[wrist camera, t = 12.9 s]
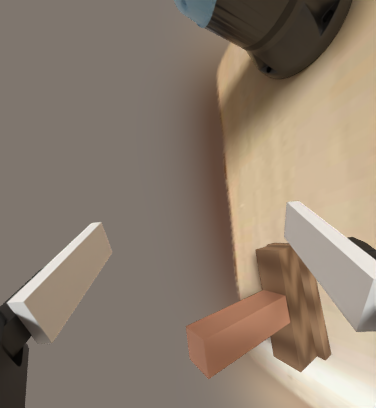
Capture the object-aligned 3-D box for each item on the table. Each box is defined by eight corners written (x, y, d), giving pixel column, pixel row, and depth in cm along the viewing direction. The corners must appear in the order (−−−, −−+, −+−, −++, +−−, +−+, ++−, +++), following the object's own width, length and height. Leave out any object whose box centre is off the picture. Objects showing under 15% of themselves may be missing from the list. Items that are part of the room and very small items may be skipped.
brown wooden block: (272, 243, 38) (250, 249, 35) (308, 243, 32) (285, 251, 29) (289, 335, 36) (267, 352, 33) (331, 354, 30) (309, 377, 27)
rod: (263, 289, 32) (185, 326, 24) (285, 295, 29) (203, 340, 21) (267, 313, 32) (189, 359, 24) (290, 322, 29) (208, 379, 20)
